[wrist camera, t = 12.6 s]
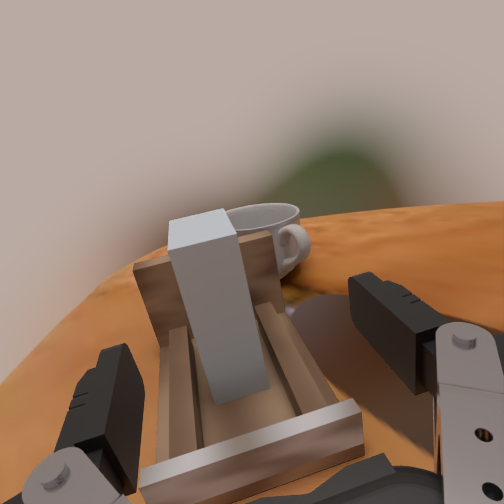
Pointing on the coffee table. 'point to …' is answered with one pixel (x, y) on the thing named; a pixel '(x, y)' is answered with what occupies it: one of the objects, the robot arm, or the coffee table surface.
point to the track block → (239, 399)
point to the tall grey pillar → (218, 303)
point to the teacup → (275, 231)
